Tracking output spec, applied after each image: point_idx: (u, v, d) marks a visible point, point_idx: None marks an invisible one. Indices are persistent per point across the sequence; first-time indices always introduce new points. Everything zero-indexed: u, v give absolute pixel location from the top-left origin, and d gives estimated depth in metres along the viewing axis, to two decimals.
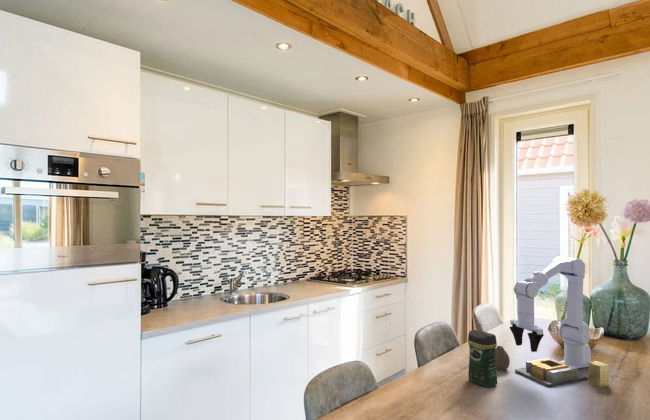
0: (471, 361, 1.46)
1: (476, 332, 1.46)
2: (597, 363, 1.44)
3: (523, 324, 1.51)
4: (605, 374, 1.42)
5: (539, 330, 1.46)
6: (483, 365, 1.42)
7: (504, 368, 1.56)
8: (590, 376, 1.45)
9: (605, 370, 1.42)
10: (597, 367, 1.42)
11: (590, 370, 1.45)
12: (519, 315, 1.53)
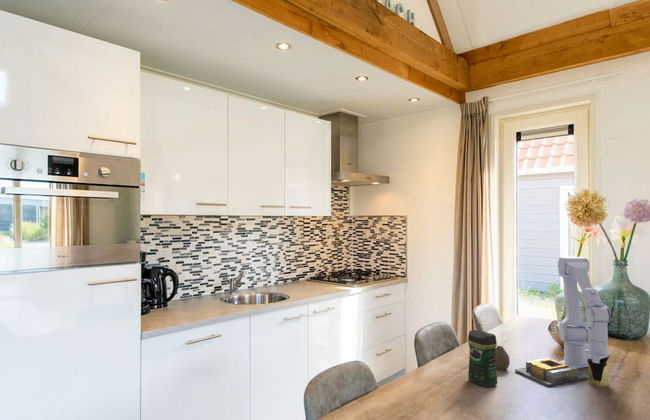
0: (471, 361, 1.46)
1: (476, 332, 1.46)
2: None
3: (589, 350, 1.45)
4: (605, 374, 1.42)
5: (593, 358, 1.39)
6: (483, 365, 1.42)
7: (504, 368, 1.56)
8: (590, 376, 1.45)
9: (605, 370, 1.42)
10: None
11: (590, 370, 1.45)
12: None
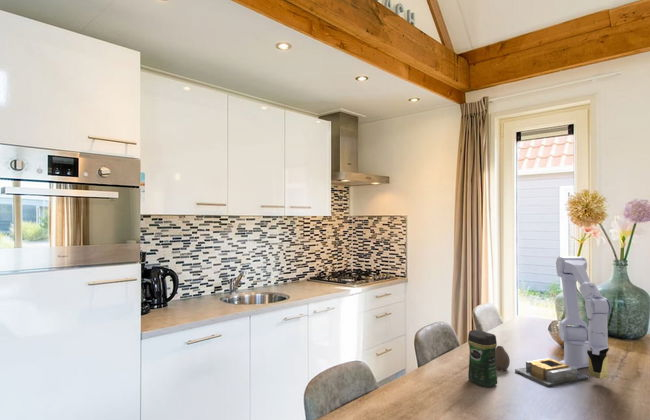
0: (471, 361, 1.46)
1: (476, 332, 1.46)
2: None
3: (589, 342, 1.45)
4: (605, 366, 1.42)
5: (593, 349, 1.39)
6: (483, 365, 1.42)
7: (504, 368, 1.56)
8: (590, 368, 1.45)
9: (605, 361, 1.42)
10: None
11: (590, 362, 1.45)
12: None
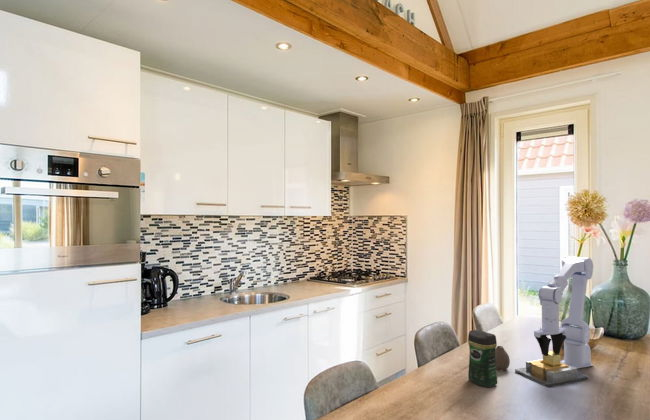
0: (471, 361, 1.46)
1: (476, 332, 1.46)
2: (550, 353, 1.52)
3: None
4: (557, 363, 1.50)
5: (534, 332, 1.50)
6: (483, 365, 1.42)
7: (504, 368, 1.56)
8: None
9: (558, 359, 1.50)
10: (550, 356, 1.50)
11: (544, 360, 1.52)
12: None
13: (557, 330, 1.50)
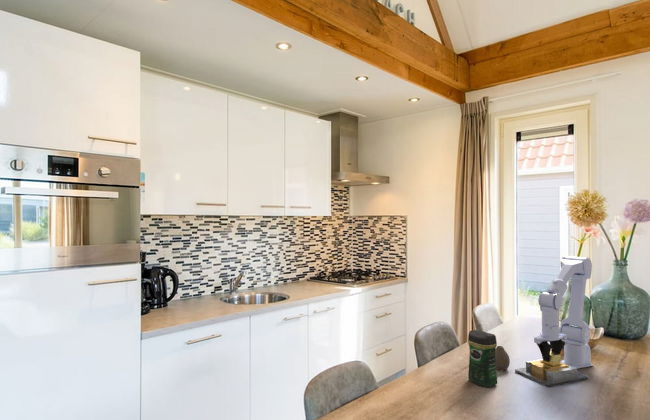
0: (471, 361, 1.46)
1: (476, 332, 1.46)
2: (550, 353, 1.52)
3: None
4: (557, 363, 1.50)
5: (534, 338, 1.50)
6: (483, 365, 1.42)
7: (504, 368, 1.56)
8: None
9: (557, 359, 1.50)
10: (550, 356, 1.50)
11: None
12: None
13: (557, 336, 1.50)
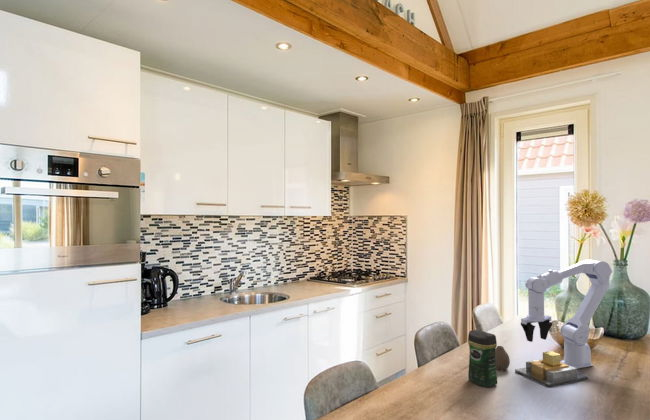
0: (471, 361, 1.46)
1: (476, 332, 1.46)
2: (550, 353, 1.52)
3: None
4: (557, 363, 1.50)
5: (521, 319, 1.62)
6: (483, 365, 1.42)
7: (504, 368, 1.56)
8: None
9: (557, 359, 1.50)
10: (550, 356, 1.50)
11: (544, 360, 1.52)
12: None
13: (542, 317, 1.62)
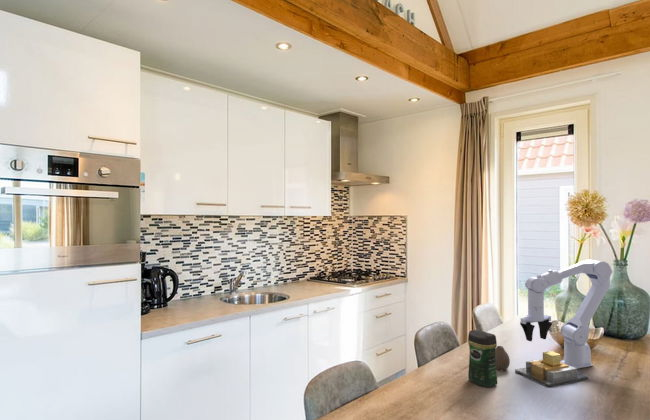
0: (471, 361, 1.46)
1: (476, 332, 1.46)
2: (550, 353, 1.52)
3: None
4: (557, 363, 1.50)
5: (521, 319, 1.63)
6: (483, 365, 1.42)
7: (504, 368, 1.56)
8: None
9: (557, 359, 1.50)
10: (550, 356, 1.50)
11: (544, 360, 1.52)
12: None
13: (542, 317, 1.62)
